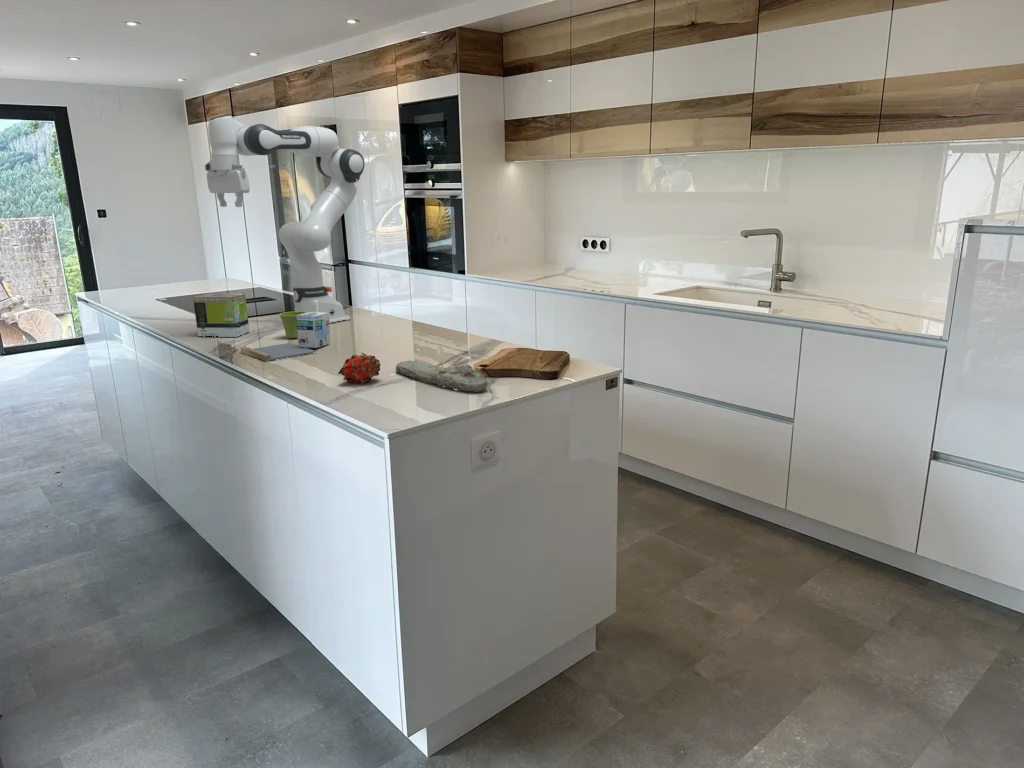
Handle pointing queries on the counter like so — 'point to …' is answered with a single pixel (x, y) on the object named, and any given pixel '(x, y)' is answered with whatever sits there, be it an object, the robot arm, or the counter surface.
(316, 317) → the light bulb box
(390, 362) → the counter surface
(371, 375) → the dragon fruit
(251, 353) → the strip
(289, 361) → the counter surface
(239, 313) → the tea box
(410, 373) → the elongated rock
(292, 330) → the plant pot
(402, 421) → the counter surface
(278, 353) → the mat
